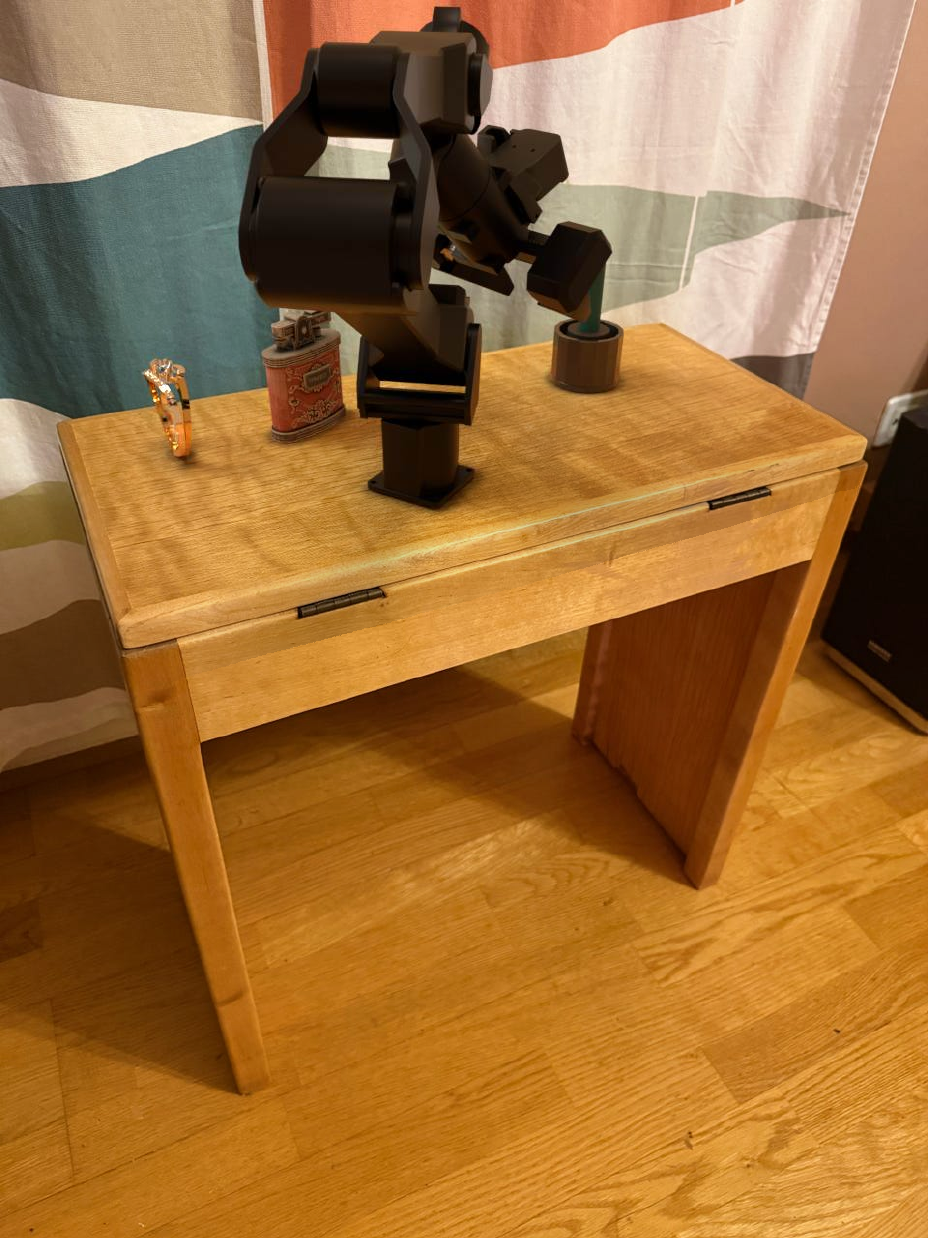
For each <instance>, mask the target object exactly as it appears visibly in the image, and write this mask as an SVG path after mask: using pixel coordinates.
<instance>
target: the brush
mask: <svg viewBox="0 0 928 1238" xmlns="http://www.w3.org/2000/svg"><path fill="white" fill-rule="evenodd" d="M606 269H607V263H606V264H605V265H604V267H603V269H602V270H601V272H600V273H599V275H598V277H597V278H596V280H595V282H594V283H593V285H592V286H591V288H590V290H589V299H590V307H591V314H590V316H589V317H588V319H587V320H586V322H585V323H583V322H580V321H579V322H577V323H573V324H571V325H569V327H568V331H567V336H569V337H571V338H575V339H580V340H593V341H596V340H606V339H609V334H610V329H609V328H608V327H607V326H605V325H603V324H600V319H601V317H602V308H603V298H604V290H605V289H604V288H605V279H606Z"/></svg>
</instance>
